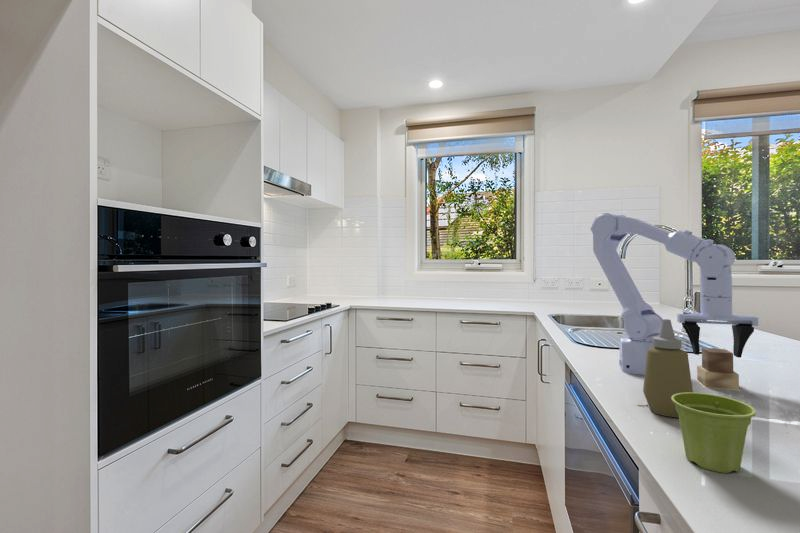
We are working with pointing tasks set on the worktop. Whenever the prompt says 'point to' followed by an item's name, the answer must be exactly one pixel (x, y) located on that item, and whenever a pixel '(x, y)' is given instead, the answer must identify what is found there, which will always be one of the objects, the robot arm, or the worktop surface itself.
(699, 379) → the oak block
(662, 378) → the squeeze bottle
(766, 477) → the worktop surface
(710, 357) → the walnut block
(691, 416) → the plant pot
